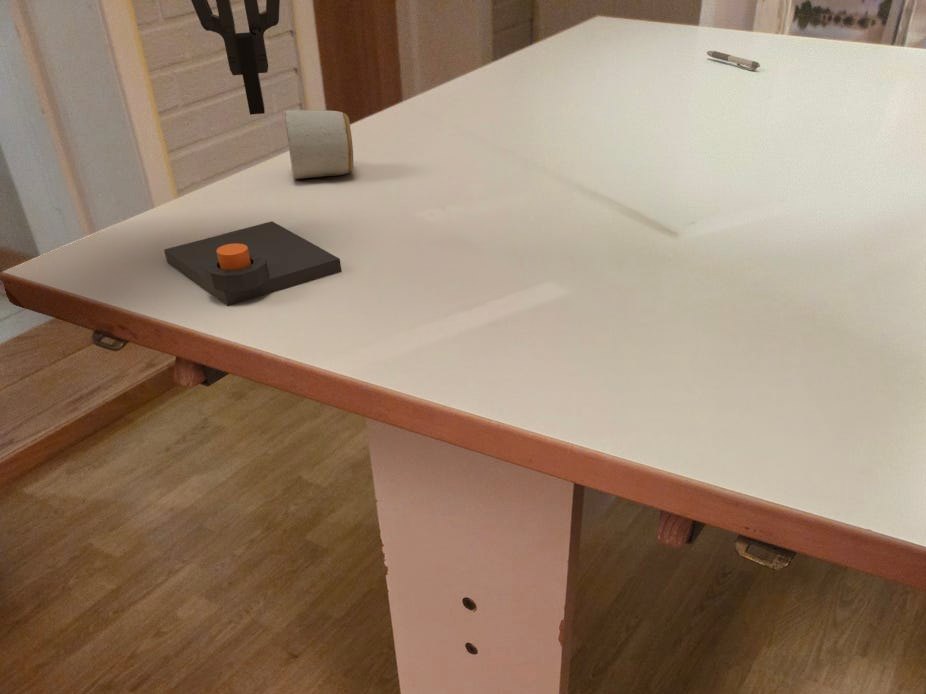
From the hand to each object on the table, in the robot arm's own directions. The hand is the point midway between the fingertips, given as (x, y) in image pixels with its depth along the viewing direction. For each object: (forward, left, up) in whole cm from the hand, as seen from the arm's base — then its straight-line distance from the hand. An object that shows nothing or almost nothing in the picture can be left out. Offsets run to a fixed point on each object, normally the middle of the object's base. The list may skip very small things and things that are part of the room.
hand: (257, 110), depth 90 cm
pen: (-22, +102, -13) cm, 105 cm away
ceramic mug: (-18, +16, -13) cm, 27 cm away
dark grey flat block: (+6, -6, -13) cm, 15 cm away
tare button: (+11, -10, -10) cm, 19 cm away
